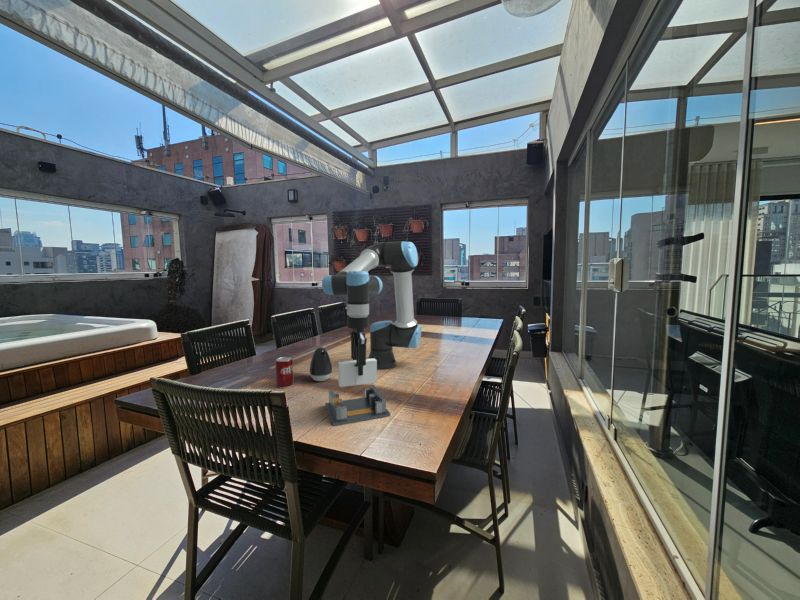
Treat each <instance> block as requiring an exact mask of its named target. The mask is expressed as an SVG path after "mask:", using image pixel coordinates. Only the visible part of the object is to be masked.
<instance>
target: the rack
mask: <svg viewBox="0 0 800 600" xmlns="http://www.w3.org/2000/svg"><path fill="white" fill-rule="evenodd" d="M324 406H325V409H326V412H327V414H328V416H329V419H330V421H331V424H332V426H333V427H337V426H342V425H348V424H354V423H359V422H366V421H372V420H377V419H383V418H387V416H389V417H391V413H390V411H389V410H388V408H387V399H386V397H385V396H384V395H383V394H382V393H381V392H380V390H378V388H377V387H376V386H375V385H374V384H370V385H369V387H366V388H364V396H363V397H358V398H352V399H345V400H343V399H342V398H340V393H339V392H334V390H328V402H326V403H324ZM382 417H383V418H382ZM376 418H377V419H376ZM371 419H372V420H371Z"/></svg>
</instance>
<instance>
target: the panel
mask: <svg viewBox="0 0 800 600" xmlns="http://www.w3.org/2000/svg"><path fill="white" fill-rule="evenodd" d="M337 364H338V365H337V366H338V367H337V368H338V371H337V372H338V373H337V375H338V376H337V377H338V379H337V380H338V386H339V388H343V387H345V388H346V387H351V386H360V385H366V384H367V385H368V384H370V385H371V384H377V381H378V372H377V371H378V369H377V360H376V359H375V358H373V359H368V358H366V365H364V384H358V385H356V367H355V366H354V365H356V360H353V359H352V360H342V361H338V363H337Z"/></svg>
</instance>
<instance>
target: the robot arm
mask: <svg viewBox="0 0 800 600" xmlns="http://www.w3.org/2000/svg"><path fill="white" fill-rule="evenodd" d="M418 256H419V255H418V250H417V247H416V246H415V244H414V243H413V242H411V241H404V240H402V241H379V242H378V243H374V244H372V245H370V246H368V247H366V248H364V249H363V250H362V251H361V252H360V254H359V256H358V257H356V258H355V259H354V260H353V261H352V262H350V263H349V264H347V266H345V267H344V268H343V269H341V270H340V271H339V272H338V273H336V274H330V275H329V274H328V275H327V274H326V275H325V276H324V277H323V279H322V282H321V288H322V291H323V293H324V294H325V295H329V296H346V306H345V307H344V308H345V310H346V315H347V317H346V327H347V328H348V329H351V330H352V331H349V334H350V351H351V354H350V355H351V356H350V357H351V359H352V360H356V365H354V366H355V367H356V385H355V386H359V385H358V384H362V385H365V384H364V365H366V359H373V358H375V359H376V360H377V370H388V369H391V368H394V367H396V365H397V360H396V358H395V353H394V351H393V347H394V348H401V349H402V348H404V349H416V348H417V347H418V346H419V344H420V341H421V338H422V337H421V336H422V326H421V325H419V324H418V321H417V319H415V313H414V294H413V280H412V279H413V278H412V273H413V272H414V271H415V267H417V266H418V263H419V262H418V261H419V260H418V259H419V257H418ZM377 267H388V268H389V271H390V273H391V274H393V284H394V285H393V286H394V297H395V298H394V299H395V309H396V310H395V311H396V312H395V313H396V320H395V321H394V322H393V321H392V320H383V321H382V320H380V321H375V322H373V323H371V324H370V317H369V315H370V297H375V296H377V295H379V294H380V293H381V292H382V291H383V286H384V285H383V281H382V280H381V278H380V277H379V276H377V275H370V274H369V272H370V270H373V269H376V268H377ZM369 326H370V327H369ZM366 328H370V329H369V330H370V331H369V336H370V337H369V339H370V340H369V342H370V344H369V345H370V347H369V348H370V350H369V354H368V357H367V342H368V339H367V338H368V337H366V333H365V332H364V330H365V329H366Z"/></svg>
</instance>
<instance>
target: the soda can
mask: <svg viewBox="0 0 800 600" xmlns="http://www.w3.org/2000/svg"><path fill="white" fill-rule="evenodd" d="M274 361H275V362H274V364H275V365H274V366H275V385H276V387H277V388H278V387H280V388H279V389H287V388H290V387H293V385H294V383H295V382H294V379H295V378H294V359H293V358H292V357H290V356H283V357H282V356H281V357H277V358H276V359H275V360H274Z"/></svg>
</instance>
